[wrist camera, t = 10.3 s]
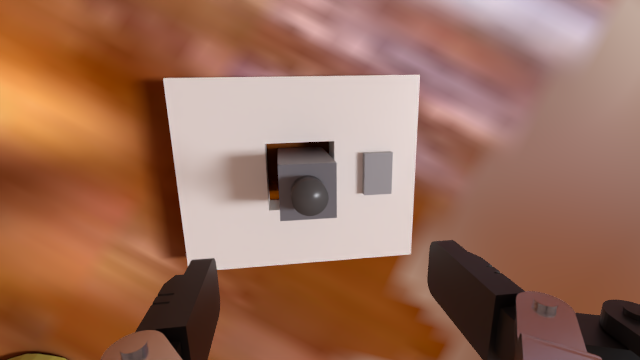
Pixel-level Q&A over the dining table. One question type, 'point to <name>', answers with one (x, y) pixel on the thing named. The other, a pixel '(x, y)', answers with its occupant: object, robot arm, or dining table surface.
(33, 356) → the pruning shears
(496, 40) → the dining table surface
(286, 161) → the gray knobbed square peg
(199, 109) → the socket plate
